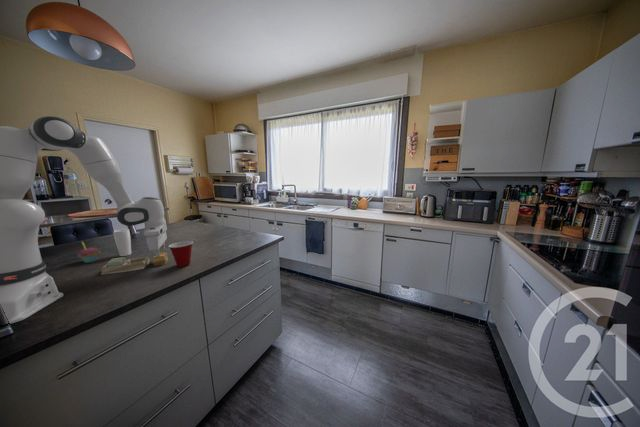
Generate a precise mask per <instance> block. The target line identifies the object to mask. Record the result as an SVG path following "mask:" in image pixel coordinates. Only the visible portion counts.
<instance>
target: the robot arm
mask: <svg viewBox="0 0 640 427" xmlns="http://www.w3.org/2000/svg"><path fill="white" fill-rule="evenodd" d="M62 150H67V151H69V152H71V153H72V154H73V155H74V156H75V157H76V158H78V160H79V163H80V164H81V166H82V168H83V169H84V171H85V172H86V173H87V174H88V176H90V178H91V179H93V180H94V181H95V183H96V182H97V183H98V184H99V185H101V186H103V187H104V188H105V189H106V190H107V191H108V193H109V194H110V196H111V197H112V200H113V201H114V202H115V204H116V207H117V210H116V211H117V213H116V218H117V221H118V222H119V223H120V224H122V225H124V226H126V227H130V226H133V227H134V226H137V225H140V224H144V231H143V237H145V241H146V244H147V248H148V249H147V250H148V251H150V252H153V253H154V255H155V256H156V257H158V256H160V253H161V251H164V250H165V244H166V243H165V241H166V240H167V239H168V236H167V230H168V227H167V220H166V218H165V208H164V205H163V202H162V200H161V199H159V198H157V197H152V196H151V197H150V196H147V197H146V196H144V197H142V198H141V199H139V200H137V201H136V202H135V201H134V200H133V198H132V197H131V196H130V193H129V192H128V191H127V188H126V186H125V185H124V182H123V176H122V175H123V174H122V172H121V168H120V165H119V163H118V161H117V159H116V158H115V156H114V155H113V152H112V151H111V150H110V149H109V147H108V145H107V144H106V143H105V142H104V141H103V140H102V139H101V138H100V137H97V136H94V135H87V134H85V133H84V132H83V131H82V130H80V129H79V128H77V127H76V126H75V125H74V124H73V123H71V122H70V121H68V120H67V119H65V118H62V117H58V116H53V115H52V116H51V115H49V116H42V117H39V118H37V119H36V120H34V121H32V122H31V123H30V124H29V125H27V127H26V128H17V127H14V126H6V125H3V126H0V303H1V305H2V308H3V310H4V312H5V315H6V317H7V319H8V321H9V323H10V324H9V325H11V324H14V323H17V322H20V321H23V320H25V319H27V318H29V317H31V316H32V315H34V314H35V313H37V312H38V311H40V310H42V309H44V308H45V307H47V306H48V305H51V304H52V303H54V302H56V301H57V300H59V299H61V298H62V297H64V292H62V291H61V292H59V290H58V287H57V285H56V283H55V282H56V281H55V280H54V277H52V276H51V275H49V274H48V273H47V272H46V271H47V265H46V264H45V261H44V260H43V259H42V255H41V252H40V247H39V241H38V240H39V231H40V225H41V224H42V223H43V222H44V221H45V218H46V213H45V210H44V209H43V208H42V207H41V206H40V205H39V204H36V203H34V202H31V201H28V200H24V197H25V195H26V193H27V192H28V190H29V189H31V188H32V187H33V186H34V184H35V180H36V179H35V178H36V173H37V172H36V171H37V166H38V156H39V154H40V152H41V151H47V152H49V151H50V152H56V151H62Z"/></svg>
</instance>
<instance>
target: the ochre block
mask: <svg viewBox="0 0 640 427" xmlns="http://www.w3.org/2000/svg"><path fill="white" fill-rule="evenodd" d="M152 261H153V267H155V266H163V265H166V264H167V263H168V262H169V261H168V253H167V252H160V256H158V257H156V256H155V254H154V255H153V256H152Z"/></svg>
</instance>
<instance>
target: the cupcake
mask: <svg viewBox="0 0 640 427" xmlns="http://www.w3.org/2000/svg"><path fill="white" fill-rule="evenodd" d="M81 244H82V247H83V249H82V250H80V251H78V252H77V253H76V256H77V258H80V259H81V260H82V261H83V262H84V263H92V262H96V261H97V260H98V256H99V255H100V254H101V250H100V249H99V248H97V247H88V248H87V247H86V245H85V243H84V242H83V241H81Z"/></svg>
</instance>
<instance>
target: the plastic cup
mask: <svg viewBox="0 0 640 427" xmlns="http://www.w3.org/2000/svg"><path fill="white" fill-rule="evenodd" d="M193 243H194V241H192V240H184V241H179V242H175V243H174V242H173V243H171V244H169V245H168V248H169V249H170V251H171V253H172V256H173V257H172V258H173V260H174V262H175V264H176V266H177V267H178V268H185V267H188V266H190V264H191V257H192V247H193Z"/></svg>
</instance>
